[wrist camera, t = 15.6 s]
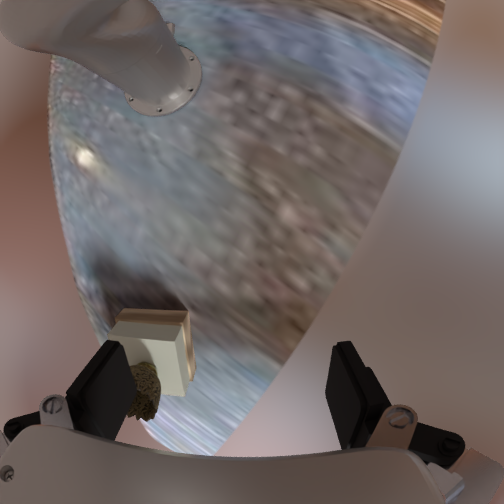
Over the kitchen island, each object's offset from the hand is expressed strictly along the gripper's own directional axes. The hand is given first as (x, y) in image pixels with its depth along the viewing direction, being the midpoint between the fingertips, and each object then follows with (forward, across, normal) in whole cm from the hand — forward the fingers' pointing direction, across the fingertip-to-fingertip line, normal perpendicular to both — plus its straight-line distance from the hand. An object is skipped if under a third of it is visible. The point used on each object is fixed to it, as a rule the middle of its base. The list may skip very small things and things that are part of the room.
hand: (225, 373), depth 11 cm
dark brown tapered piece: (+22, +15, +18) cm, 32 cm away
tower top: (+26, +15, +18) cm, 35 cm away
